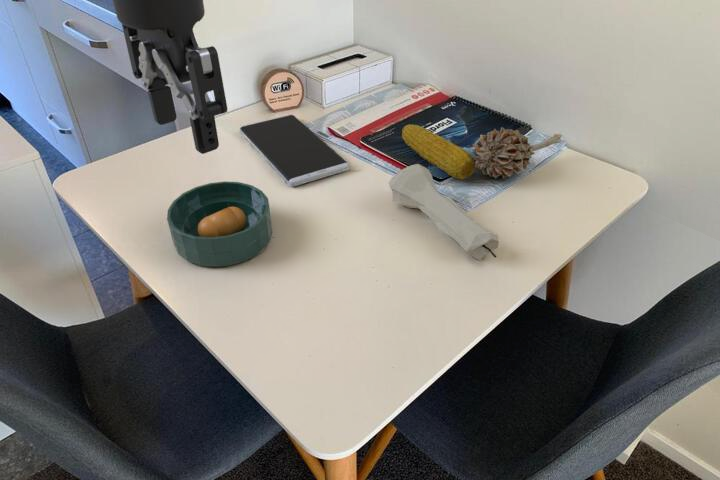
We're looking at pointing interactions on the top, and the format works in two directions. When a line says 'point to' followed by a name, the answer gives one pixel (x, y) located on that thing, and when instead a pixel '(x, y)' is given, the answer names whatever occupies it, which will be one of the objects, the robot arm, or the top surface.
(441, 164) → the food
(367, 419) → the top surface
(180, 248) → the green round bowl
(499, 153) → the pine cone
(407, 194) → the faceted club
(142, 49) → the robot arm
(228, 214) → the bread roll
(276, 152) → the smartphone
